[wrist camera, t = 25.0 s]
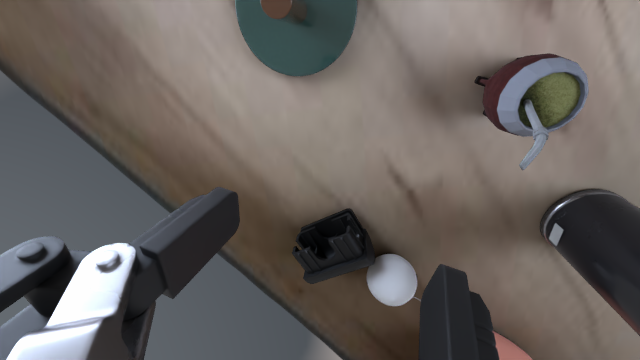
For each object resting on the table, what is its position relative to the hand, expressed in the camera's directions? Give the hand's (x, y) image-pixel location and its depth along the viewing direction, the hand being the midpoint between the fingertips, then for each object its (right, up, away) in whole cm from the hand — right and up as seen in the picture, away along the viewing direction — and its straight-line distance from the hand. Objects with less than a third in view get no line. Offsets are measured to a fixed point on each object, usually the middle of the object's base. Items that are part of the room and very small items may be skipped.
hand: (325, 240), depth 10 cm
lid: (-3, +20, +17) cm, 26 cm away
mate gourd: (+19, +12, +19) cm, 30 cm away
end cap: (+2, -6, +31) cm, 32 cm away
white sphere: (+12, -12, +32) cm, 36 cm away
